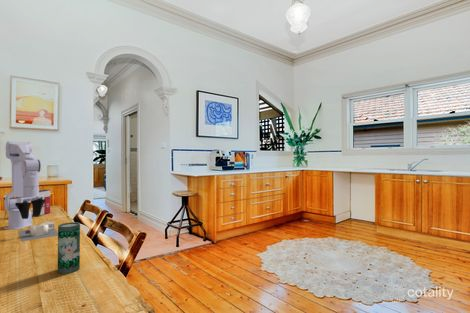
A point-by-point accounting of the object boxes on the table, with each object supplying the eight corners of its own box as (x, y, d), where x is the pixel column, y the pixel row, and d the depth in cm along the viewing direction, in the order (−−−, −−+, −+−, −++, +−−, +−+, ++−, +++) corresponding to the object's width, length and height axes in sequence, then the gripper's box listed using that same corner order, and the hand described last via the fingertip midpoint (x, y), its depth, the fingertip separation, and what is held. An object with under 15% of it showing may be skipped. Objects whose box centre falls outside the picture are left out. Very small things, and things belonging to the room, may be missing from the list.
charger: (40, 229, 134) (40, 223, 134) (52, 227, 137) (52, 221, 137) (41, 231, 130) (41, 225, 130) (54, 229, 134) (54, 223, 134)
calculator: (38, 216, 162) (38, 191, 162) (31, 216, 162) (31, 191, 162) (51, 212, 173) (51, 189, 173) (44, 212, 173) (44, 189, 173)
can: (56, 275, 85) (57, 227, 85) (59, 268, 90) (59, 223, 90) (79, 271, 87) (79, 225, 87) (80, 264, 93) (80, 221, 93)
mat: (18, 231, 130) (18, 231, 130) (53, 227, 140) (53, 226, 140) (20, 242, 115) (20, 241, 115) (59, 236, 125) (59, 235, 125)
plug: (25, 237, 120) (25, 228, 120) (25, 235, 123) (25, 226, 123) (53, 233, 127) (53, 225, 127) (52, 231, 130) (52, 223, 130)
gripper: (28, 187, 114) (28, 219, 113) (50, 185, 128) (50, 213, 127) (11, 188, 113) (11, 220, 113) (35, 185, 128) (35, 214, 127)
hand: (31, 217), depth 120 cm, fingers open, 7 cm apart
